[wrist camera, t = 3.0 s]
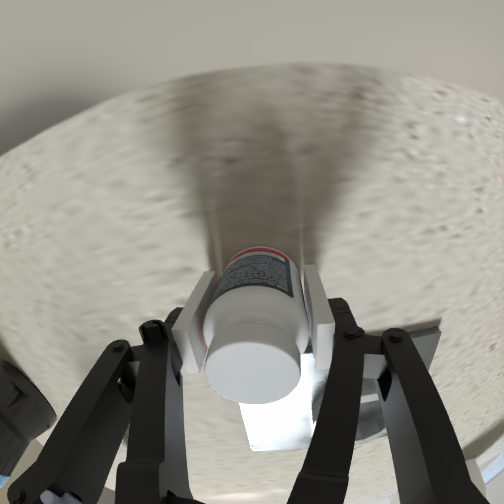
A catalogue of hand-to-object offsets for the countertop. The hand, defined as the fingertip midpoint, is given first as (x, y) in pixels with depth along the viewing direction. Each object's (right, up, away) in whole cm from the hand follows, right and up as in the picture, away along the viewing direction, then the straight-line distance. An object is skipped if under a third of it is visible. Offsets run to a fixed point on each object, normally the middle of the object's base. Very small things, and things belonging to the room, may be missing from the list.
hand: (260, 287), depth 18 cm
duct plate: (+7, -12, +5) cm, 15 cm away
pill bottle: (0, 0, +1) cm, 1 cm away
